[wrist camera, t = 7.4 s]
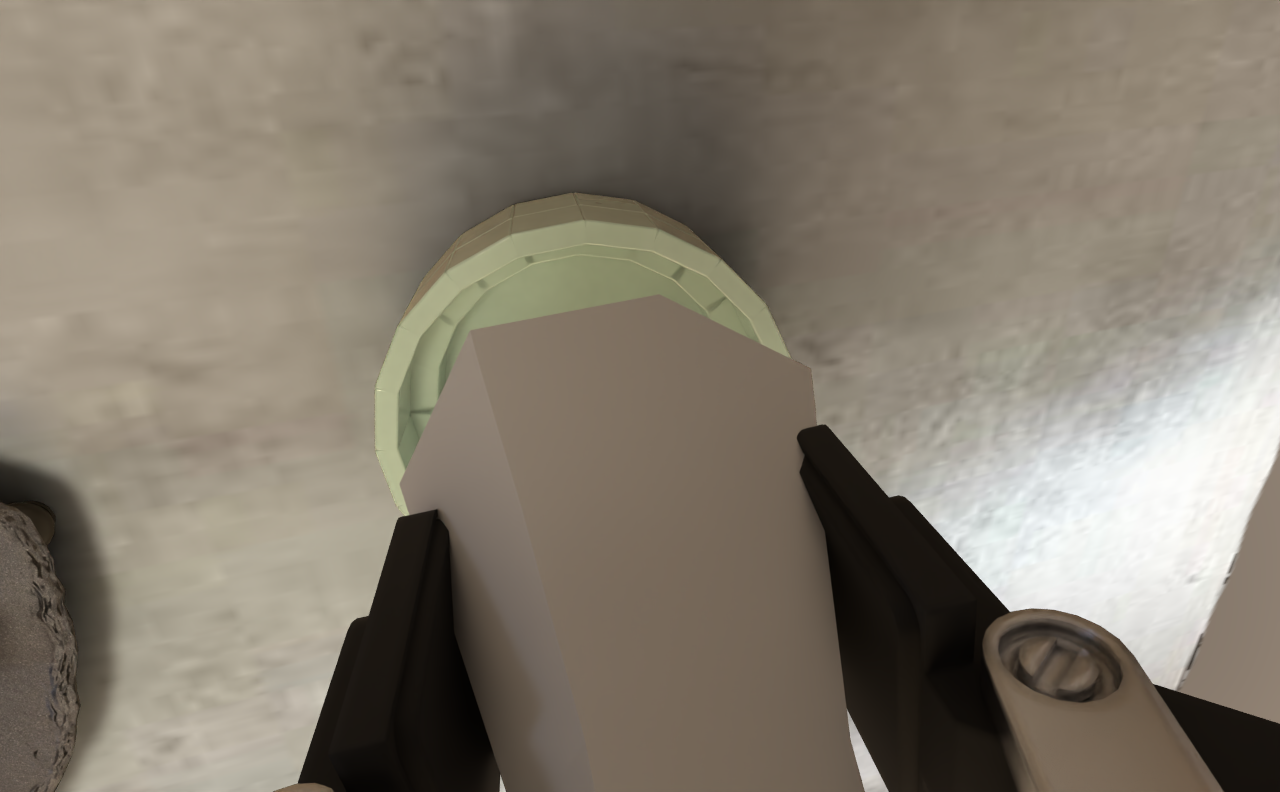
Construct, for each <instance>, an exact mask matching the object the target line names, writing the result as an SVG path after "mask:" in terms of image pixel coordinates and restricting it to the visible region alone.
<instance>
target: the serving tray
mask: <svg viewBox="0 0 1280 792" xmlns="http://www.w3.org/2000/svg"><path fill="white" fill-rule="evenodd" d="M54 523H55V515H54V513H53V511H52V510H51V509H50V508H49V507H48V506H46V505H45V504H43V503H40V502H37V501H24V502H19V503H10V504H4V503H2V502H0V792H55V790H56V788H57V786H58V784H59V782H60V781H61V779H62V777H63V775H64V772H65V770H66V768H67V766H68V764H69V761H70V759H71V756H72V753H73V749H74V745H75V740H76V733H77V718H78V714H79V710H80V702H79V697H78V693H77V682H76V672H77V660H78V646H77V641H76V636H75V631H74V626H73V621H72V619H71V617H70V615H69V613H68V611H67V609H66V607H65V605H64V603H65V589H64V587H63V585H62V584H61V582H60V581H59V579H58V578H57V576H56V574H55V566H54V560H53V558H52V556H51V554H50V552H49V550H48V548H47V545H48V544H49V543H50V541H51V539H52V537H53V535H54V531H55V524H54Z"/></svg>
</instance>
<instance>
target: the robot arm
mask: <svg viewBox="0 0 1280 792" xmlns="http://www.w3.org/2000/svg"><path fill="white" fill-rule="evenodd" d="M797 441H798V443H799V445H800V447H801V449H802V452H803V453H804V455H805V456H804V459H803V462H802V465H801V469H800V472H799V473H800V475H801V477H802V480H803V482H804V484H805V487H806V489H807V491H808V494H809V496H810V498H811V501H812V503H813V505H814V508H815V510H816V512H817V514H818V517H819V519H820V521H821V524H822V526H823V528H824V530H825V536H826V544H827V553H828V561H829V569H830V577H831V585H832V593H833V602H834V610H835V618H836V626H837V634H838V642H839V651H840V659H841V667H842V675H843V683H844V691H845V700H846V708H847V710H848V712H849V714H850V716H851V718H852V720H853V722H854V724H855V726H856V728H857V730H858V732H859V733H860V735H861V737H862V739H863V741H864V743H865V745H866V747H867V749H868V751H869V753H870V755H871V757H872V759H873V761H874V763H875V765H876V767H877V769H878V771H879V773H880V775H881V777H882V779H883V781H884V783H885V785H886V787H887V789H888V791H889V792H1280V724H1278V723H1276V722H1272V721H1269V720H1266V719H1263V718H1260V717H1256V716H1253V715H1250V714H1247V713H1243V712H1240V711H1237V710H1234V709H1231V708H1228V707H1224V706H1221V705H1218V704H1215V703H1212V702H1209V701H1206V700H1202V699H1199V698H1196V697H1193V696H1189V695H1187V694H1183V693H1180V692H1177V691H1174V690H1171V689H1168V688H1164V687H1161V686H1158V685H1155V684H1152V682H1151V681H1150V679H1149V678H1148V676H1147V675H1146V673H1145V672H1144V670H1143V669H1142V667H1141V666H1140V664H1139V663H1138V661H1137V660H1136V658H1135V657H1134V655H1133V654H1132V653H1131V652H1130V651H1129V650H1128V648H1127V647H1126V646H1125V645H1124V644H1123V643H1122V642H1121V641H1120V639H1118V638H1117V637H1115V636H1114V635H1112V634H1111V633H1110V632H1108V631H1107V630H1105V629H1104V628H1102V627H1101V626H1099V625H1097V624H1095V623H1093V622H1090V621H1088V620H1086V619H1084V618H1082V617H1079V616H1077V615H1073V614H1069V613H1065V612H1061V611H1057V610H1048V609H1025V610H1019V611H1012V612H1010V611H1009V610H1008V609H1007V608H1006V607H1005V606H1004V605H1003V604H1002V603H1001V601H1000V600H999V599H998V598H997V597H996V596H995V595H994V594H993V593H992V592H991V590H990V589H989V588H988V587H987V586H986V585H985V584H984V583H983V582H982V580H981V579H980V578H979V577H978V576H977V575H976V574H975V573H974V572H973V571H972V569H971V568H970V567H969V566H968V565H967V564H966V563H965V562H964V561H963V559H962V558H961V557H960V556H959V555H958V554H957V553H956V552H955V551H954V549H953V548H952V547H951V546H950V545H949V544H948V543H947V542H946V541H945V540H944V538H943V537H942V536H941V535H940V534H939V533H938V532H937V531H936V530H935V528H934V527H933V526H932V525H931V524H930V523H929V522H928V521H927V520H926V519H925V517H924V516H923V515H922V514H921V513H920V512H919V511H918V510H917V509H916V507H915V506H914V505H913V504H912V503H911V502H910V501H909V500H907V499H906V498H905V497H903V496H894V497H890V498H889V497H888V496H887V495H886V494H885V492H884V491H883V490H882V489H881V488H880V487H879V485H878V484H877V483H876V482H875V481H874V480H873V478H872V477H871V476H870V475H869V474H868V473H867V472H866V470H865V469H864V468H863V467H862V466H861V465H860V463H859V462H858V461H857V460H856V459H855V458H854V456H853V455H852V454H851V453H850V452H849V451H848V449H847V448H846V447H845V446H844V445H843V444H842V443H841V441H840V440H839V439H838V438H837V437H836V436H835V434H834V433H833V432H832V431H831V430H830V429H829V427H827V426H826V425H818V426H814V427H809V428H806V429H802V430H801V431H800V432H799V433H798V435H797ZM437 517H438V510H437V509H435V510H430V511H426V512H421V513H417V514H412V515H408V516H403V517H400V518H398V520H397V523H396V526H395V529H394V533H393V536H392V539H391V543H390V546H389V549H388V553H387V556H386V560H385V563H384V566H383V570H382V573H381V576H380V580H379V583H378V587H377V590H376V593H375V597H374V600H373V603H372V607H371V610H370V614H369V616H366V617H362V618H357V619H356V620H354V621H353V622H352V623H351V625H350V627H349V629H348V631H347V634H346V637H345V640H344V643H343V646H342V649H341V652H340V655H339V659H338V662H337V665H336V668H335V671H334V674H333V677H332V680H331V683H330V686H329V689H328V692H327V695H326V698H325V701H324V704H323V707H322V710H321V714H320V717H319V720H318V723H317V726H316V729H315V732H314V735H313V738H312V741H311V744H310V747H309V750H308V753H307V756H306V759H305V762H304V765H303V769H302V772H301V775H300V778H299V781H298V784H294V785H291V786H288V787H285V788H282V789H279V790H276V791H273V792H499V791H500V771H499V768H498V765H497V762H496V759H495V756H494V753H493V750H492V747H491V744H490V741H489V738H488V734H487V731H486V728H485V725H484V722H483V719H482V716H481V713H480V710H479V707H478V704H477V701H476V698H475V695H474V692H473V689H472V686H471V683H470V679H469V676H468V673H467V670H466V667H465V664H464V661H463V658H462V655H461V652H460V649H459V646H458V643H457V640H456V637H455V634H454V621H453V602H452V583H451V564H450V546H449V530H448V529H447V527H446V526H445V525H444V523H443V522H442V521H441V520H440V519H436V518H437Z"/></svg>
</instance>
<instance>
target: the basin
mask: <svg viewBox="0 0 1280 792" xmlns="http://www.w3.org/2000/svg"><path fill="white" fill-rule="evenodd" d="M657 294H660V295H662V296H664V297H666V298H668V299H670V300H672V301H674V302H676V303H678V304H680V305H682V306H684V307H686V308H688V309H690V310H693V311H695V312H697V313H699V314H701V315H703V316H705V317H707V318H709V319H711V320H713V321H715V322H717V323H719V324H721V325H723V326H725V327H727V328H729V329H731V330H733V331H735V332H737V333H739V334H741V335H743V336H746V337H748V338H750V339H752V340H754V341H756V342H758V343H760V344H762V345H764V346H766V347H768V348H770V349H772V350H774V351H776V352H778V353H780V354H782V355H784V356H786V357H788V358H790V359H791V356H790V354H789V352H788V349H787V347H786V345H785V343H784V341H783V339H782V336H781V334H780V332H779V330H778V328H777V325H776V323H775V321H774V319H773V317H772V314H771V312H770V310H769V308H768V306H767V305H766V303H765V302H764V301H763V300H762V299H761V298H760V297H759V296H758V295H757V294H756V293H755V292H754V291H753V290H752V289H751V288H750V287H749V286H748V285H747V284H746V283H745V282H744V281H743V280H742V279H741V278H740V277H739V276H738V275H737V274H736V273H735V272H734V271H733V270H732V269H731V268H730V267H729V266H728V265H727V264H726V263H725V262H724V261H723V260H722V259H721V258H720V257H719V256H718V255H717V254H716V253H715V252H714V251H713V250H712V249H711V248H710V247H709V246H707V245H706V244H705V243H704V242H703V241H702V240H701V239H700V238H699V237H698V236H697V235H696V234H695V233H694V232H693V231H692V230H690V229H689V228H688V227H687V226H686V225H684V224H682V223H680V222H678V221H676V220H674V219H672V218H670V217H668V216H666V215H664V214H662V213H660V212H658V211H655V210H653V209H651V208H649V207H647V206H645V205H643V204H641V203H639V202H637V201H634V200H630V199H622V198H614V197H606V196H599V195H591V194H583V193H569V194H564V195H559V196H553V197H548V198H543V199H538V200H533V201H528V202H523V203H518V204H515V205H511V206H510V207H508V208H506V209H505V210H503V211H501V212H499V213H498V214H496V215H494V216H492V217H491V218H489V219H487V220H485V221H484V222H482V223H480V224H478V225H477V226H475V227H473V228H471V229H470V230H468V231H466V232H464V233H463V234H462V235H461V236H460V237H458V238H457V240H456V241H455V242H454V243H453V244H452V245H451V246H450V248H449V249H448V250H447V251H446V252H445V253H444V255H443V256H442V257H441V258H440V259H439V260H438V262H437V263H436V264H435V265H434V266H433V267H432V268H431V270H430V271H429V272H428V273H427V274H426V275H425V277H424V278H423V280H422V281H421V283H420V285H419V287H418V289H417V291H416V292H415V294H414V296H413V298H412V300H411V302H410V304H409V305H408V307H407V309H406V311H405V313H404V315H403V317H402V319H401V321H400V323H399V324H398V326H397V329H396V331H395V334H394V337H393V339H392V342H391V345H390V347H389V350H388V353H387V355H386V358H385V360H384V363H383V366H382V368H381V371H380V374H379V376H378V379H377V382H376V384H375V390H374V398H375V449H376V451H375V452H376V455H377V458H378V460H379V463H380V465H381V468H382V471H383V473H384V476H385V478H386V481H387V484H388V486H389V489H390V491H391V494H392V497H393V499H394V502H395V504H396V506H398V509H399V510H400V511H401V512H402V514H403V515H404V516H408V515H409V512H408V509H407V506H406V503H405V500H404V497H403V494H402V491H401V488H400V485H399V484H400V481H401V479H402V477H403V475H404V473H405V471H406V468H407V466H408V464H409V462H410V460H411V457H412V455H413V453H414V451H415V449H416V447H417V444H418V442H419V440H420V438H421V436H422V433H423V431H424V429H425V427H426V425H427V423H428V420H429V418H430V416H431V414H432V412H433V410H434V407H435V405H436V403H437V401H438V399H439V396H440V394H441V392H442V390H443V388H444V386H445V383H446V381H447V379H448V377H449V375H450V372H451V370H452V368H453V366H454V364H455V362H456V359H457V357H458V355H459V353H460V351H461V349H462V346H463V344H464V342H465V340H466V338H467V335H468V333H469V331H470V330H474V329H479V328H484V327H490V326H495V325H500V324H505V323H511V322H516V321H521V320H526V319H532V318H537V317H542V316H547V315H553V314H558V313H563V312H568V311H574V310H579V309H584V308H589V307H595V306H600V305H605V304H610V303H616V302H621V301H626V300H631V299H636V298H642V297H647V296H652V295H657Z"/></svg>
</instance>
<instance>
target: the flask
mask: <svg viewBox="0 0 1280 792" xmlns="http://www.w3.org/2000/svg"><path fill="white" fill-rule="evenodd" d="M814 426H817V422H816V408H815V399H814V391H813V383H812V374H811V368H809V367H807V366H805V365H803V364H801V363H799V362H796V361H794V360H792V359H790V358H788V357H786V356H784V355H782V354H780V353H778V352H776V351H774V350H772V349H770V348H768V347H766V346H764V345H762V344H760V343H758V342H756V341H754V340H752V339H750V338H748V337H746V336H743V335H741V334H739V333H737V332H735V331H733V330H731V329H729V328H727V327H725V326H723V325H721V324H719V323H717V322H715V321H713V320H711V319H709V318H707V317H705V316H703V315H701V314H699V313H697V312H695V311H693V310H690V309H688V308H686V307H684V306H682V305H680V304H678V303H676V302H674V301H672V300H670V299H668V298H666V297H664V296H662V295H660V294H657V295H652V296H647V297H642V298H636V299H631V300H626V301H621V302H616V303H610V304H605V305H600V306H595V307H589V308H584V309H579V310H574V311H568V312H563V313H558V314H553V315H547V316H542V317H537V318H532V319H526V320H521V321H516V322H511V323H505V324H500V325H495V326H490V327H484V328H479V329H474V330H470V331H469V333H468V335H467V338H466V340H465V342H464V344H463V346H462V349H461V351H460V353H459V355H458V357H457V359H456V362H455V364H454V366H453V368H452V370H451V372H450V375H449V377H448V379H447V381H446V383H445V386H444V388H443V390H442V392H441V394H440V396H439V399H438V401H437V403H436V405H435V407H434V410H433V412H432V414H431V416H430V418H429V420H428V423H427V425H426V427H425V429H424V431H423V433H422V436H421V438H420V440H419V442H418V444H417V447H416V449H415V451H414V453H413V455H412V457H411V460H410V462H409V464H408V466H407V468H406V471H405V473H404V475H403V477H402V479H401V481H400V484H399V485H400V488H401V491H402V494H403V497H404V500H405V503H406V506H407V509H408V512H409V515H412V514H417V513H421V512H426V511H430V510H435V509H437V510H438V517H437V518H436V519H440V520H441V521H442V522H443V523H444V525H445V526H446V527H447V529H448V530H449V546H450V564H451V583H452V602H453V621H454V634H455V637H456V640H457V643H458V646H459V649H460V652H461V655H462V658H463V661H464V664H465V667H466V670H467V673H468V676H469V679H470V683H471V686H472V689H473V692H474V695H475V698H476V701H477V704H478V707H479V710H480V713H481V716H482V719H483V722H484V725H485V728H486V731H487V734H488V738H489V741H490V744H491V747H492V750H493V753H494V756H495V759H496V762H497V765H498V768H499V771H500V774H501V777H502V780H503V783H504V786H505V789H506V792H865V791H864V787H863V784H862V780H861V776H860V773H859V769H858V765H857V762H856V758H855V755H854V751H853V747H852V744H851V740H850V732H849V724H848V716H847V708H846V700H845V691H844V683H843V675H842V667H841V659H840V651H839V642H838V634H837V626H836V618H835V610H834V602H833V593H832V585H831V577H830V569H829V561H828V553H827V544H826V536H825V530H824V528H823V526H822V524H821V521H820V519H819V517H818V514H817V512H816V510H815V508H814V505H813V503H812V501H811V498H810V496H809V494H808V491H807V489H806V487H805V484H804V482H803V480H802V477H801V475H800V473H799V472H800V469H801V465H802V462H803V459H804V456H805V455H804V453H803V452H802V449H801V447H800V445H799V443H798V441H797V435H798V433H799V432H800V431H801V430H802V429H806V428H809V427H814Z"/></svg>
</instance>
